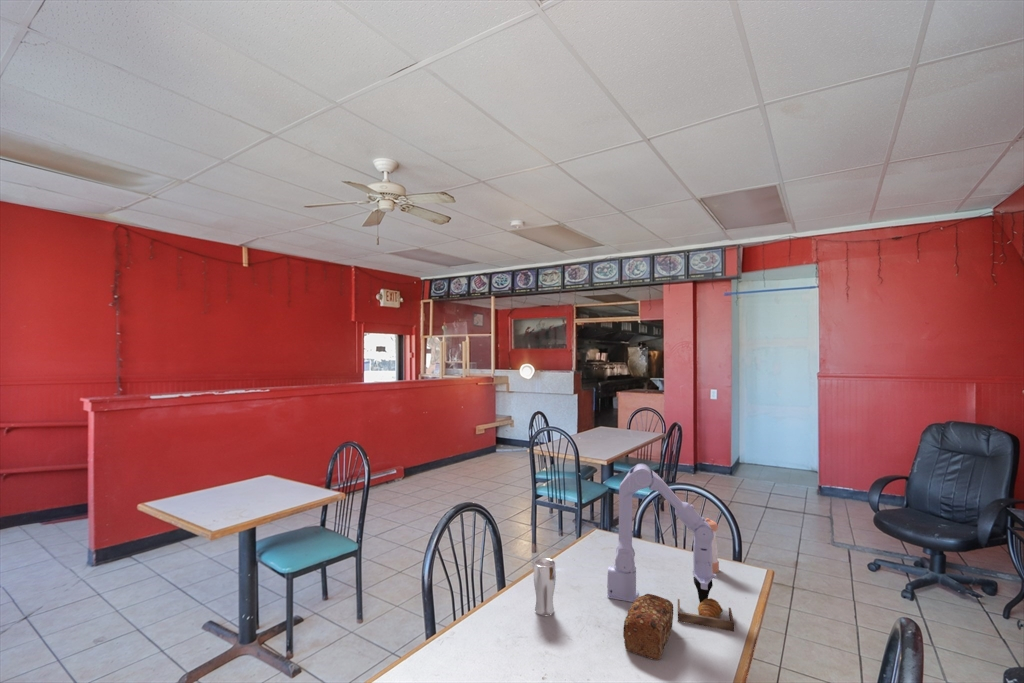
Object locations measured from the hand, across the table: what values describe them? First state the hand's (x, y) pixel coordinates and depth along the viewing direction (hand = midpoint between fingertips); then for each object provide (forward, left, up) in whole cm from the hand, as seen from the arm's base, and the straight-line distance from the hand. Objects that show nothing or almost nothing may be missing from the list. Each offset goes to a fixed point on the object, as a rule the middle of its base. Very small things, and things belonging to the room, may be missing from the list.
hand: (703, 602), depth 150 cm
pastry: (+2, -5, -1) cm, 6 cm away
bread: (-16, -25, -2) cm, 29 cm away
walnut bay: (0, -8, -1) cm, 8 cm away
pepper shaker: (+4, +30, -1) cm, 30 cm away
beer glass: (-47, -21, -1) cm, 52 cm away
